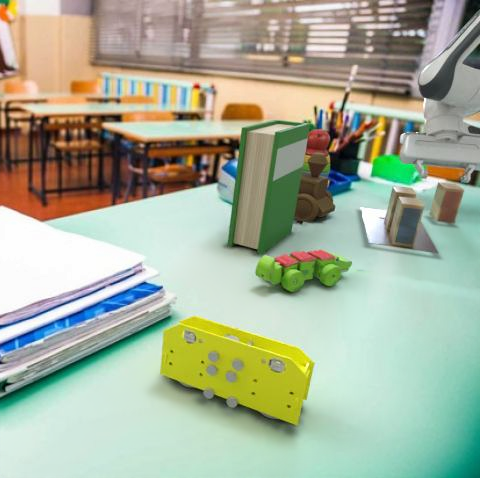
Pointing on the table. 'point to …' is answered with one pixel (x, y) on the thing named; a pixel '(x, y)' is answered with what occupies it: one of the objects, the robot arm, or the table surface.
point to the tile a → (393, 200)
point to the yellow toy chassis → (238, 367)
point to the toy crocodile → (302, 268)
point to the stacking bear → (317, 149)
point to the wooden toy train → (314, 191)
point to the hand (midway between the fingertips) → (444, 179)
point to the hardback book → (267, 183)
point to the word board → (381, 234)
